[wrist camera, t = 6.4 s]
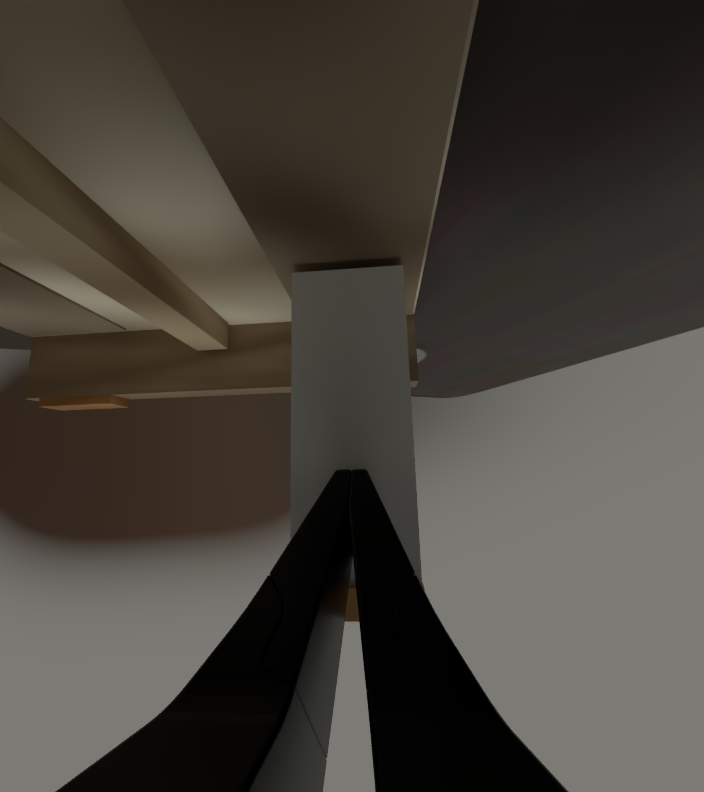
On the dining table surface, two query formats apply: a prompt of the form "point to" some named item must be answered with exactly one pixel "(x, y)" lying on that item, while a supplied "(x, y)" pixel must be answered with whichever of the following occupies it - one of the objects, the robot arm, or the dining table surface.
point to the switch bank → (209, 179)
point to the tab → (353, 395)
